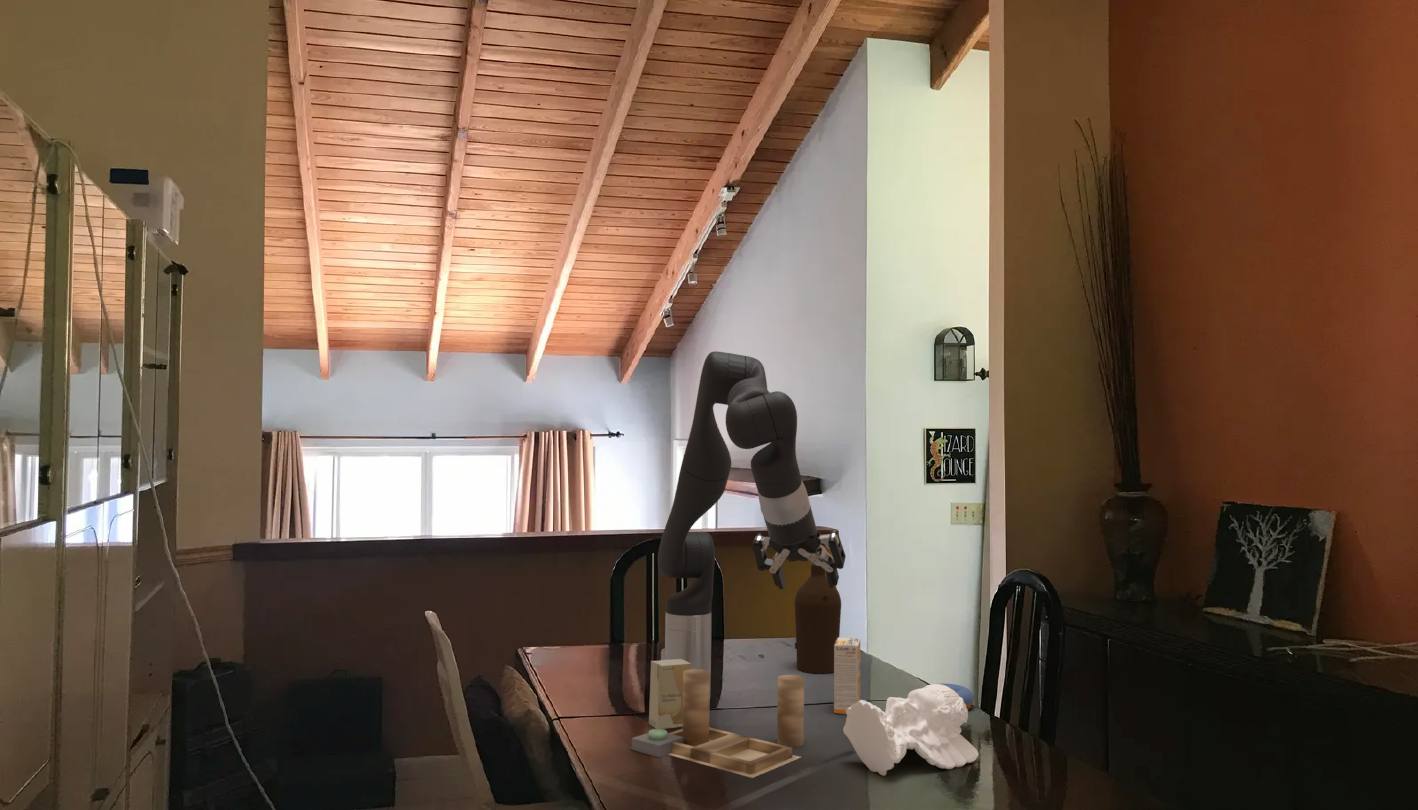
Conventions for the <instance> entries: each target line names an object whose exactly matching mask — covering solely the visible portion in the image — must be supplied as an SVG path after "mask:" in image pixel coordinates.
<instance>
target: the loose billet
mask: <svg viewBox="0 0 1418 810" xmlns="http://www.w3.org/2000/svg"><path fill="white" fill-rule="evenodd" d="M804 706H805V677H803V676H802V675H798V674H797V675H796V674H782V675H778V676H777V708H776V709H777V712H776V713H777V714H776V715H777V719H776V721H777V725H776V726H777V727H776V728H777V729H776V732H777V734H776V739H777V740H776V744H779V745H783V746H788V747H792V748H799V747H802V746H803V745H804V742H805V741H804V738H805V737H804V733H805V730H804V729H805V726H804V725H805V722H804V719H805V713H804V712H805V707H804Z"/></svg>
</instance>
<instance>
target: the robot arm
mask: <svg viewBox="0 0 1418 810" xmlns="http://www.w3.org/2000/svg"><path fill="white" fill-rule="evenodd" d="M716 404H720V405H726V406H727V408H726V413H725V428H726V432H727V435H728V437H729V439H730V441H731V442H732V443H733V444H734V445H735V446H736V447H737V448H739V449H743V450H752V449H755V448H757V447H761V446H764V445H765V446H764V447H762V448H760V449H759V450H758V451H756V452H755V454H754V455H753V456H752V458H751V460H750V469H751V473H752V476H753V480H754V483H755V487H756V490H757V493H758V500H759V501H758V502H759V506H760V511H761V513H762V516H763V519H764V523H765V527H766V529H767V532H768V536H764V535H763V533H761V532H757V533H756V534H755V536H754V540H753V542H752V550H753V553H754V558H755V562H756V565H757V570H758V571H761V572H763V571H765V570H766V571H768V572H769V573H770V574H771V576H772V580H773V583H774V585H775V586H776V587H778V588H779V590H785V588H786V584H787V579H786V575H785V572H784V568H783V566H782V565H783V564H784V562H785V561H786V560H788V561H789V562H790V563H791V562H797V561H800V562H809V561H810V563H812V562H813V563H814V564H815V565H817V566H818V565H820V566H821V567H822V568H823V569H825V575H826V577H827V579H828V583H829V587H830V588H836V586H838V583H839V578H840V577H839V576H840V575H839V572H838V570H842V569H843V568H844V567H845V562H846V552H845V551H844V546H843V544H842V540H841V538H840V535H839V532H838V531H837V530H836V529H833V530H831V531H830V533H829V534H828V533H827V534H821V533H820V532H819V531H818V530H817V525H816V522H815V516H814V515H813V514H814V513H813V510H812V506H811V504H810V499H809V495H808V491H807V488H806V486H805V484H804V482H803V478H802V476H801V473H800V472H801V471H800V468H799V463H798V460H797V451H796V450H797V448H796V446H797V445H796V443H797V431H798V412H797V408H796V405H795V403H794V401H793V400H792V398H791V397H790V396H789V395H788V394H786V393H785V392H783V391H777V390H776V391H771V392H770V391H769V390H768V383H767V376H766V371H765V366H764V365H763V363H762V362H761V361H760V360H759V359H758V358H756V357H752V356H748V355H743V354H737V353H731V352H726V351H725V352H723V351H717V350H716V351H711V352H709V353H708V354H707V356H706V357H705V360H704V363H703V366H702V370H701V373H700V379H699V383H698V390H697V396H696V402H695V408H694V414H693V419H692V424H691V427H690V432H689V435H688V436H689V437H688V440H687V444H686V447H685V451H684V454H683V456H682V457H683V458H682V461H681V465H680V471H679V474H678V480H677V485H676V489H675V494H674V499H673V502H672V507H671V510H670V513H669V516H668V519H667V521H666V524H665V527H664V530H663V532H662V536H661V539H660V543H659V547H658V553H657V566H658V569H659V572H660V574H661V575H662V576H663V577H664V578H665V577H666V578H668V579H692V580H691V582H690V583H689V584H688V586H687V587H685V588H684V589H682V590H680V591H679V592H676V593H673V594H671V595H670V596H668V597H667V598H666V600H665V617H664V618H665V619H664V620H665V621H664V622H665V628H664V633H665V634H664V635H665V636H664V641H665V642H664V648H662V649H661V652H660V660H673V659H683V660H685V661H687V662H689V663H691V669H703V670H708V671H710V680H711V679H712V678H711V676H712V675H711V670H712V669H711V668H712V666H711V665H712V661H711V660H712V659H711V658H712V657H711V656H712V603H713V596H714V577H715V576H714V573H715V563H716V562H715V561H716V556H715V555H716V554H715V550H716V549H715V543H714V539H713V536H711V534H710V533H709V532H707V531H690V530H691V528H692V527H693V526H694V525H695V524H696V522H697V521H698V520H700V518H701V517H703V516H704V515H705V514H706V513H708V511H709V510H711V509H712V508H713V507H714V506H715V504H717V502H718V501H719V500H720V499H721V497H723V495H724V493H725V490H726V487H727V484H728V480H729V477H730V472H731V469H732V457H731V453H730V450H729V448H728V445H727V443H726V442H725V439H724V437H723V436H722V433H721V431H720V428H719V426H718V423H717V419H716V416H715V412H714V405H716ZM823 544H824V545H825V547H824V545H823ZM768 546H769V547H770V548H771V549H773V550H774V551H775V552H776V553H775V554H774V556H773V557H772V558H769V557H768V552H767V549H768ZM827 550H829V551H830V553H829V552H828V551H827Z"/></svg>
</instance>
